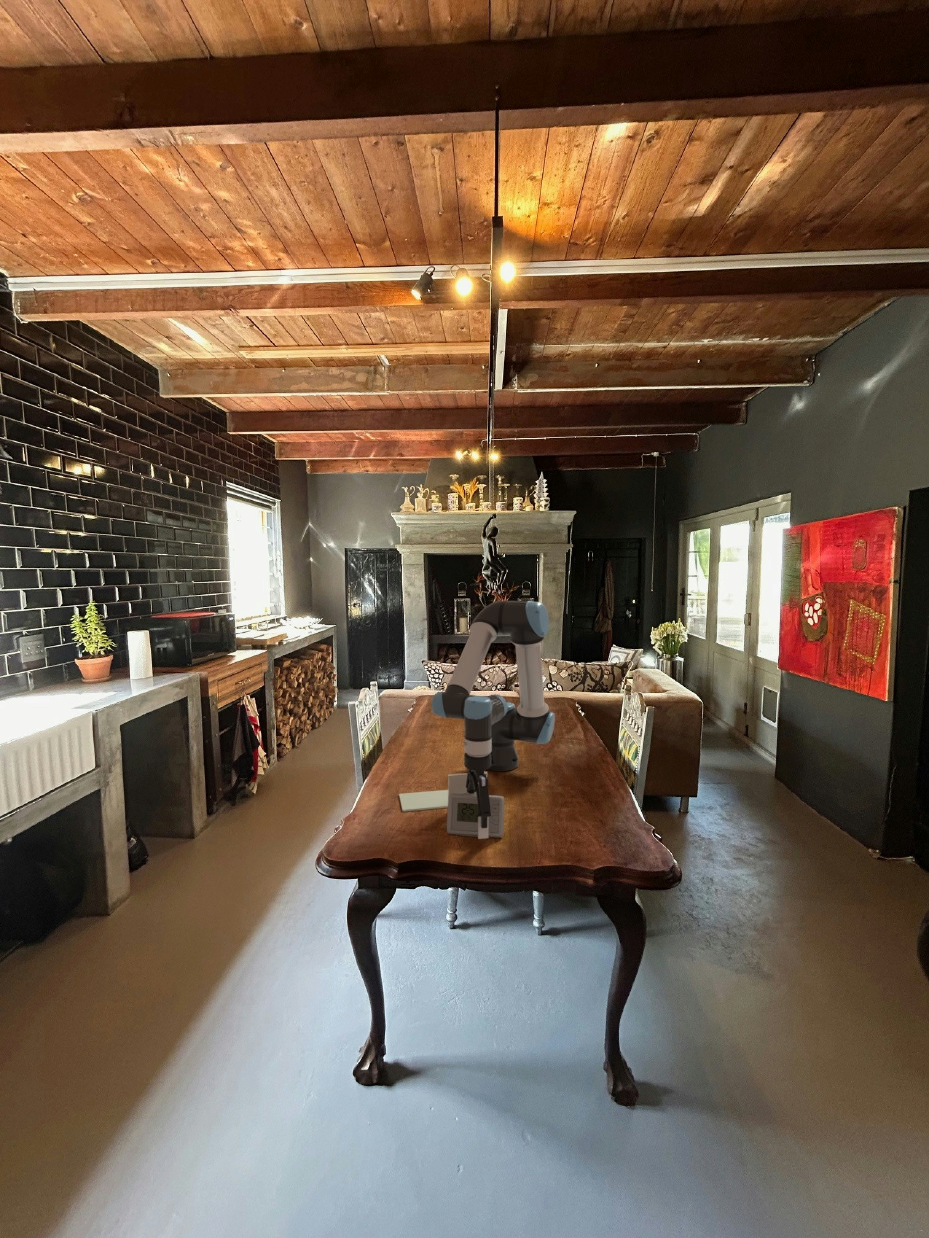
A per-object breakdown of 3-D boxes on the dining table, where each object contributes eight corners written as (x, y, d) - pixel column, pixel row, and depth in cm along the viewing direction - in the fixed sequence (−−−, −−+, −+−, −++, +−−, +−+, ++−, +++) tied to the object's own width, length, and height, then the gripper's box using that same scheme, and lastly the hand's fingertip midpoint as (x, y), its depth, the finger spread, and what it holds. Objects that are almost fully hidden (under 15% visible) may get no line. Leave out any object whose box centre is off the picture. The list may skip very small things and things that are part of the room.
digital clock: (443, 835, 149) (443, 798, 148) (454, 820, 158) (454, 786, 157) (499, 845, 144) (499, 806, 143) (508, 829, 152) (508, 793, 151)
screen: (485, 807, 166) (485, 770, 165) (488, 812, 163) (488, 774, 162) (447, 810, 164) (447, 772, 163) (449, 816, 160) (449, 777, 159)
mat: (456, 790, 179) (456, 789, 179) (463, 806, 167) (463, 804, 167) (399, 795, 175) (399, 793, 175) (402, 811, 163) (402, 809, 163)
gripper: (456, 739, 160) (455, 808, 162) (474, 770, 136) (474, 850, 138) (480, 738, 162) (480, 805, 163) (503, 767, 137) (502, 847, 139)
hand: (477, 826), depth 151 cm, fingers open, 13 cm apart
